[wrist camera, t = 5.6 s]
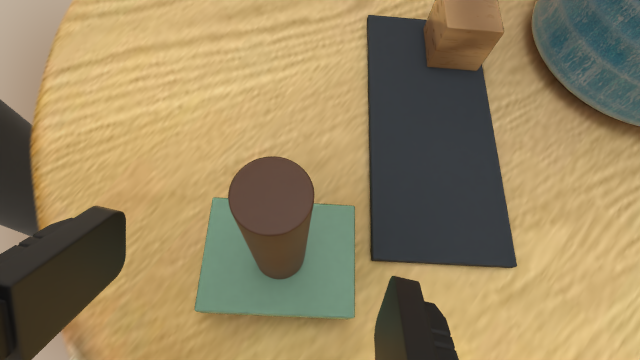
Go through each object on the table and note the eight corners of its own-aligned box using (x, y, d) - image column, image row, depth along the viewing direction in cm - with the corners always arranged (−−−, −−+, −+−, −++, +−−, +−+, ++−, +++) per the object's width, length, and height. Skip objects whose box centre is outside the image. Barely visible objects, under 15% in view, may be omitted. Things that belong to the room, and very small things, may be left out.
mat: (371, 260, 22) (373, 258, 22) (366, 20, 30) (368, 14, 30) (512, 268, 23) (517, 266, 22) (471, 29, 31) (475, 23, 30)
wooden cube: (426, 67, 28) (447, 27, 24) (423, 28, 30) (441, -16, 26) (477, 71, 28) (504, 32, 25) (470, 32, 30) (495, -10, 26)
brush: (206, 314, 21) (109, 290, 10) (221, 213, 23) (158, 101, 12) (346, 320, 21) (407, 304, 10) (347, 220, 23) (397, 119, 12)
